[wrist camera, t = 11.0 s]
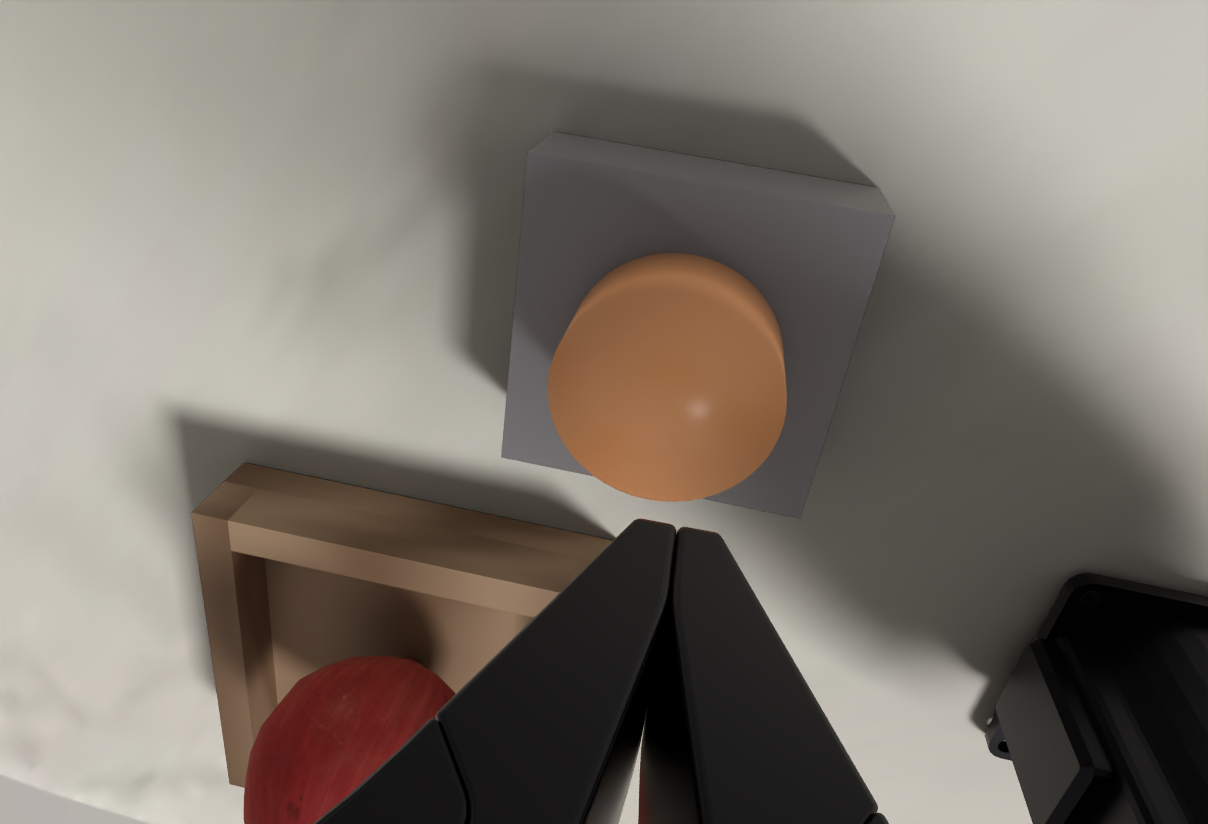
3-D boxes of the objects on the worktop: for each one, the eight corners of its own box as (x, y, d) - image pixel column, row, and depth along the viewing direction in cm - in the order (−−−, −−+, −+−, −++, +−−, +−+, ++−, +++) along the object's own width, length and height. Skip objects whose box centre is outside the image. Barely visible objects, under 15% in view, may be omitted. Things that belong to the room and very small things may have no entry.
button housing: (878, 187, 17) (895, 216, 15) (795, 465, 20) (799, 518, 18) (553, 131, 18) (527, 151, 16) (525, 411, 21) (501, 457, 19)
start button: (808, 275, 15) (815, 313, 14) (756, 467, 18) (756, 521, 16) (582, 234, 16) (560, 266, 14) (558, 427, 18) (537, 476, 16)
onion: (528, 631, 23) (431, 911, 16) (489, 757, 26) (392, 1042, 19) (335, 568, 23) (156, 820, 16) (317, 701, 26) (158, 963, 19)
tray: (619, 542, 22) (605, 602, 20) (573, 794, 28) (558, 864, 26) (243, 462, 23) (191, 512, 21) (269, 722, 29) (229, 784, 26)
